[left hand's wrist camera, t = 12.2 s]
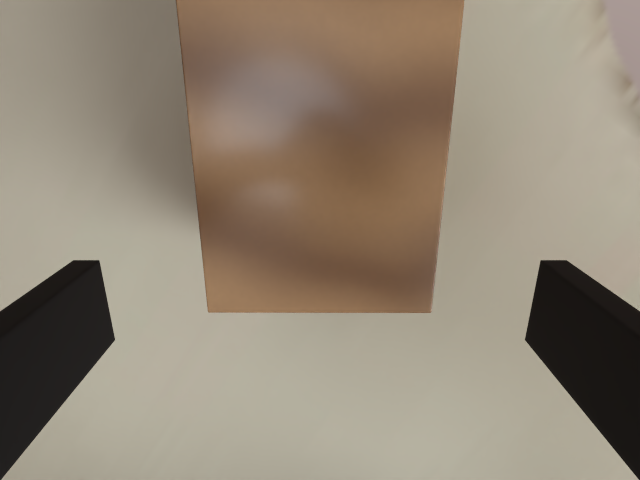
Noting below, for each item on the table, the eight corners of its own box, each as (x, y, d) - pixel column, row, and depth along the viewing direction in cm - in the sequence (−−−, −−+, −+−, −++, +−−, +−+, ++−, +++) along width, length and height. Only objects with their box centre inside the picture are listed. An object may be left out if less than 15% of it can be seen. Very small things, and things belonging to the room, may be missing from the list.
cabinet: (219, -116, 22) (148, -259, 13) (421, -115, 22) (492, -259, 13) (242, 242, 29) (207, 312, 20) (396, 242, 29) (431, 313, 20)
